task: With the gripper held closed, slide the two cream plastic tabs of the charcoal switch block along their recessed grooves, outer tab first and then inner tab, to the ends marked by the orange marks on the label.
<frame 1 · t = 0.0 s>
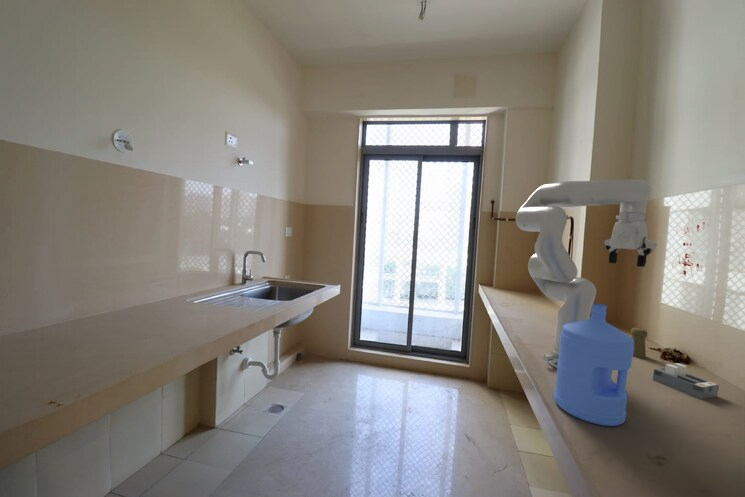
hand: (626, 264, 119), 37 cm above the countertop, tool pointing down, fingers open, 9 cm apart
water jug: (587, 410, 84), on the countertop
outer tab: (679, 370, 105), point 4 cm above the countertop, slide at 0.0 cm
inner tab: (671, 371, 103), point 4 cm above the countertop, slide at 0.0 cm
cork: (636, 355, 129), on the countertop
switch block: (683, 387, 102), on the countertop
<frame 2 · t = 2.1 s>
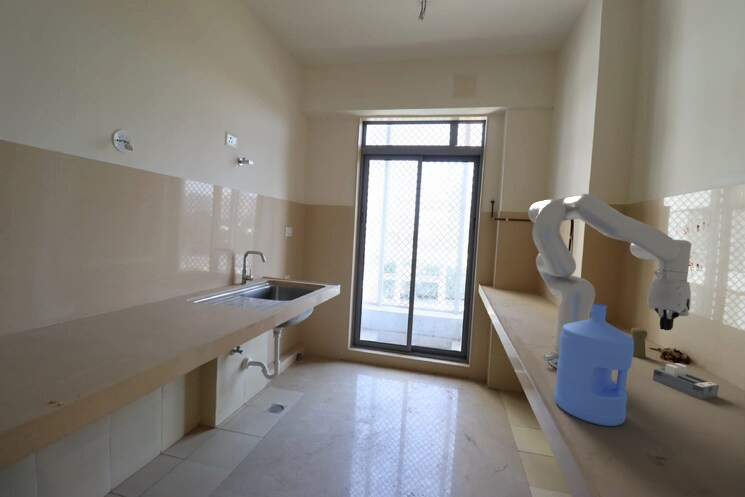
hand: (665, 329, 109), 16 cm above the countertop, tool pointing down, fingers closed
nothing on the countertop moved.
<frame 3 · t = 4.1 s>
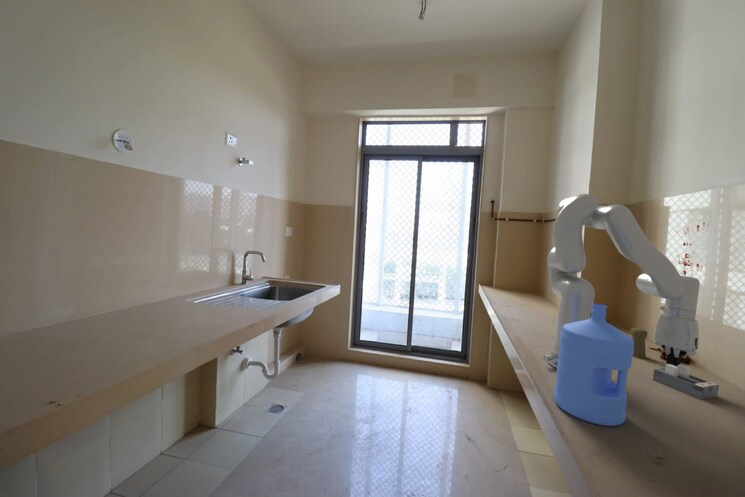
hand: (672, 367, 107), 4 cm above the countertop, tool pointing down, fingers closed
outer tab: (683, 372, 104), point 4 cm above the countertop, slide at 0.9 cm, touching gripper
everything else where it was.
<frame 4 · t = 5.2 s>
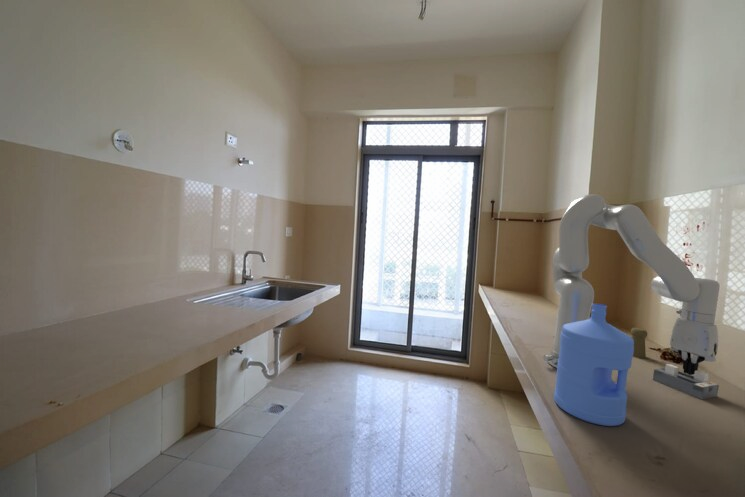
hand: (689, 373, 103), 4 cm above the countertop, tool pointing down, fingers closed
outer tab: (700, 378, 100), point 4 cm above the countertop, slide at 5.3 cm, touching gripper, switch block
everything else where it was.
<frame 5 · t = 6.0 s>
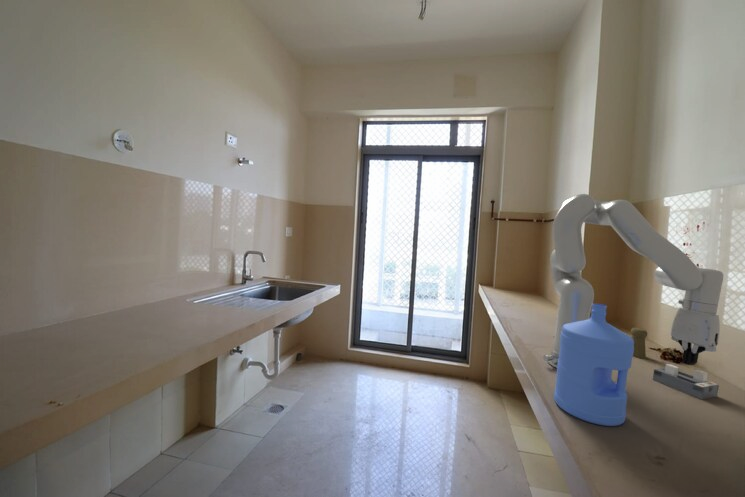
hand: (689, 363, 102), 8 cm above the countertop, tool pointing down, fingers closed
outer tab: (700, 378, 100), point 4 cm above the countertop, slide at 5.1 cm
everything else where it was.
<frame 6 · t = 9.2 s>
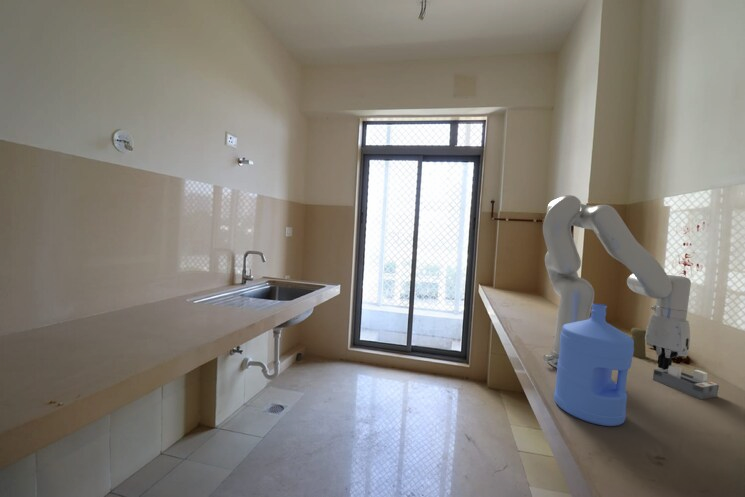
hand: (663, 368, 105), 5 cm above the countertop, tool pointing down, fingers closed
inner tab: (674, 373, 103), point 4 cm above the countertop, slide at 0.8 cm, touching gripper
everything else where it was.
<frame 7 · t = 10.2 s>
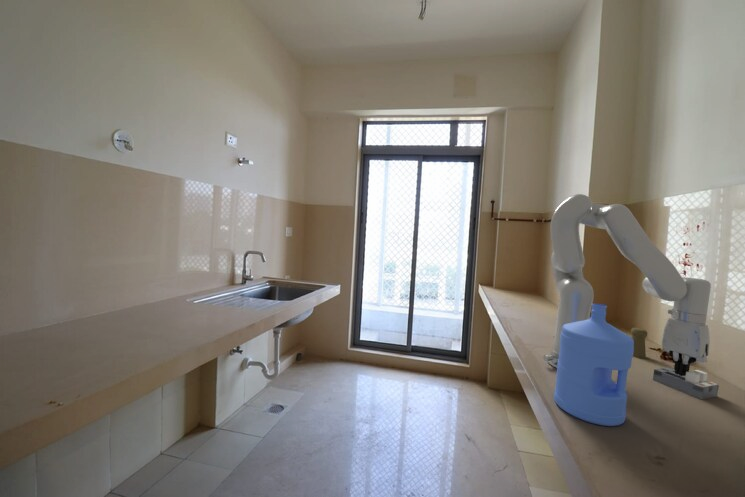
hand: (680, 374, 101), 4 cm above the countertop, tool pointing down, fingers closed
inner tab: (692, 379, 98), point 4 cm above the countertop, slide at 5.3 cm, touching gripper, switch block
everything else where it was.
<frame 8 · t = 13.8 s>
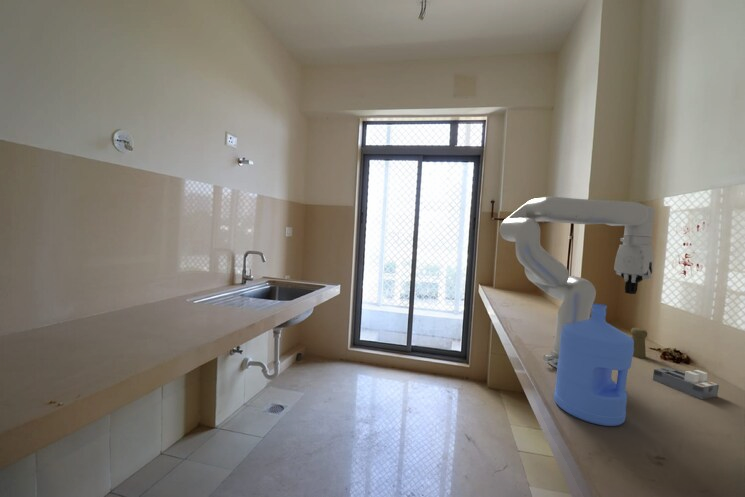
hand: (630, 293, 113), 27 cm above the countertop, tool pointing down, fingers closed
inner tab: (691, 379, 99), point 4 cm above the countertop, slide at 5.1 cm
everything else where it was.
at the end: outer tab slide at 5.1 cm; inner tab slide at 5.1 cm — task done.
